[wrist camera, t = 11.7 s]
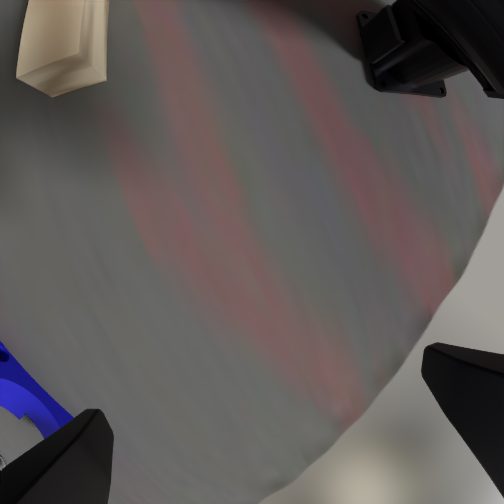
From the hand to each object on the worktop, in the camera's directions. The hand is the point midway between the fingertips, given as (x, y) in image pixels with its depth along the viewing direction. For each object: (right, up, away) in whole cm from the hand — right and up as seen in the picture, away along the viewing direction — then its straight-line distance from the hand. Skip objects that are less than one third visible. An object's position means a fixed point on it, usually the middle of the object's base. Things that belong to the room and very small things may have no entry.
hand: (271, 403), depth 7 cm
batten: (-13, +26, +6) cm, 30 cm away
